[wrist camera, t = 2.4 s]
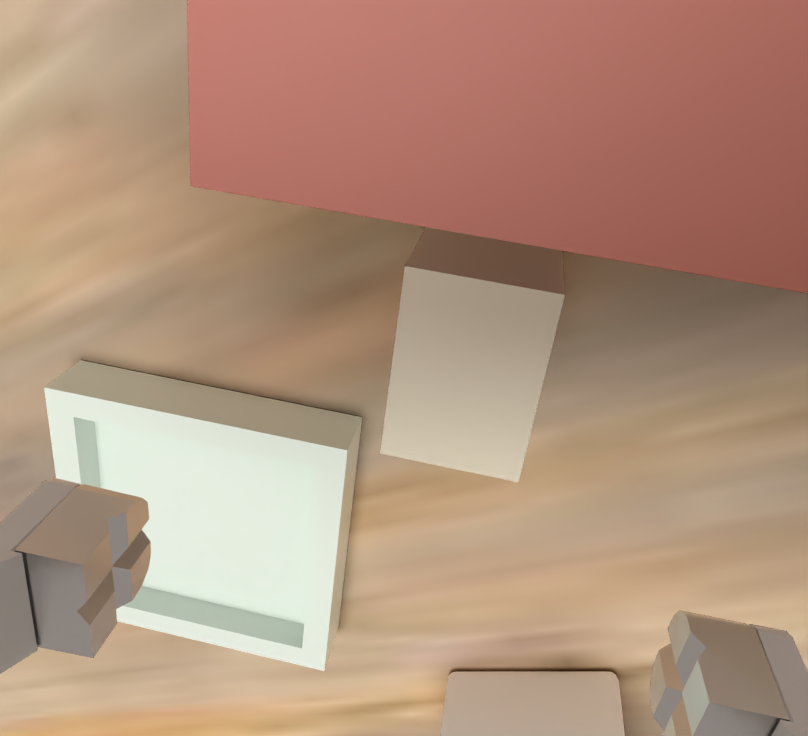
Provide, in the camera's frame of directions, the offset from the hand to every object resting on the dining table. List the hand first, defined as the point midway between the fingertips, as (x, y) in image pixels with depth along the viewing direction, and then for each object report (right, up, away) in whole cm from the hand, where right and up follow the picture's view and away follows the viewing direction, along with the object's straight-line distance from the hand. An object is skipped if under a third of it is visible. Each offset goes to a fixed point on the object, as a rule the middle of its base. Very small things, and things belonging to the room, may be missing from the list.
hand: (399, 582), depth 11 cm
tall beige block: (+3, +6, +12) cm, 14 cm away
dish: (-8, -2, +18) cm, 20 cm away
